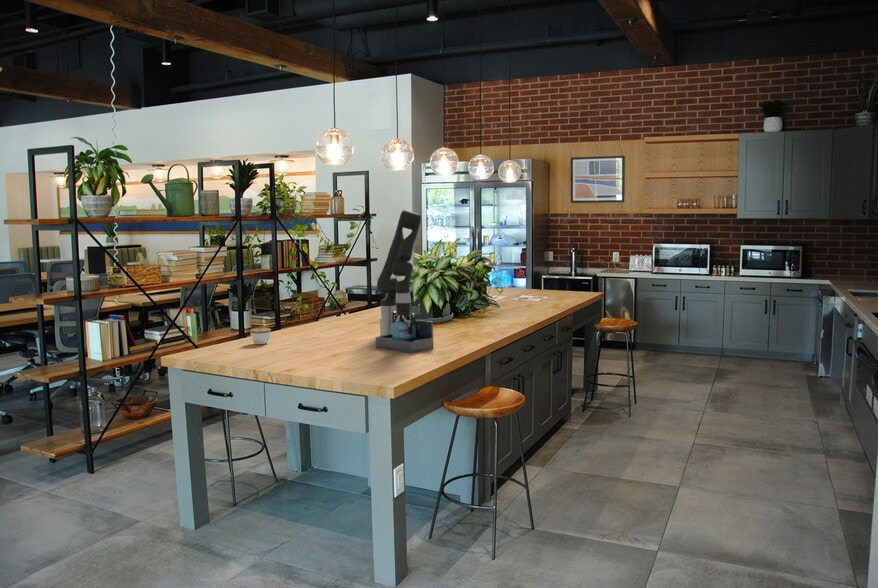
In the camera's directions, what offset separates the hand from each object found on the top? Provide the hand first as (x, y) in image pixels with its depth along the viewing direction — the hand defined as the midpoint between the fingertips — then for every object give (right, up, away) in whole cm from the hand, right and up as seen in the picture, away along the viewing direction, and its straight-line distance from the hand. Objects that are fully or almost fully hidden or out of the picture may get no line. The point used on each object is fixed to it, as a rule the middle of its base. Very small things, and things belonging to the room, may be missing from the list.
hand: (404, 333), depth 355 cm
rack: (0, -8, +1) cm, 8 cm away
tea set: (+7, +3, +96) cm, 96 cm away
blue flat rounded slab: (0, -6, +1) cm, 6 cm away
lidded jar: (-78, -7, +22) cm, 81 cm away
